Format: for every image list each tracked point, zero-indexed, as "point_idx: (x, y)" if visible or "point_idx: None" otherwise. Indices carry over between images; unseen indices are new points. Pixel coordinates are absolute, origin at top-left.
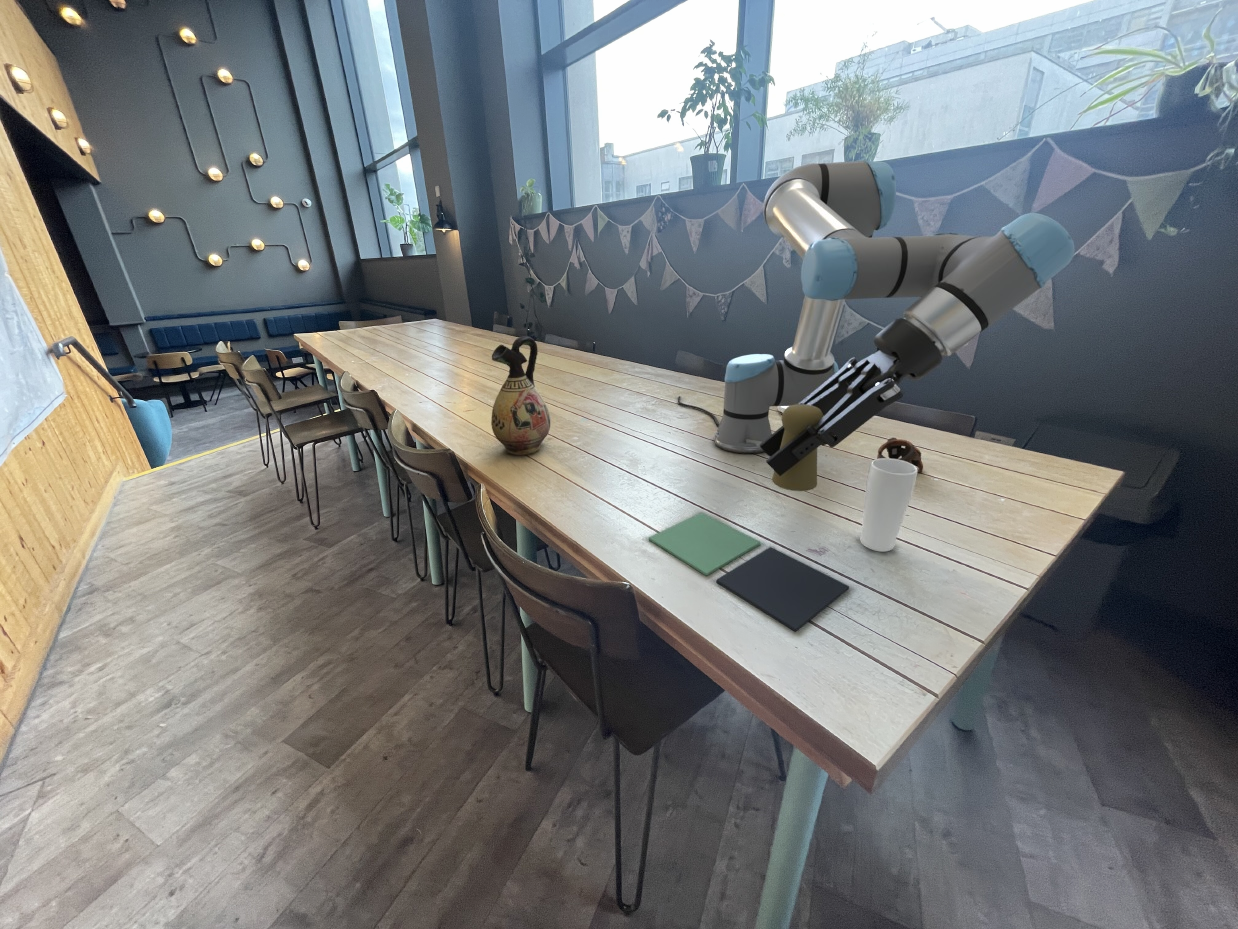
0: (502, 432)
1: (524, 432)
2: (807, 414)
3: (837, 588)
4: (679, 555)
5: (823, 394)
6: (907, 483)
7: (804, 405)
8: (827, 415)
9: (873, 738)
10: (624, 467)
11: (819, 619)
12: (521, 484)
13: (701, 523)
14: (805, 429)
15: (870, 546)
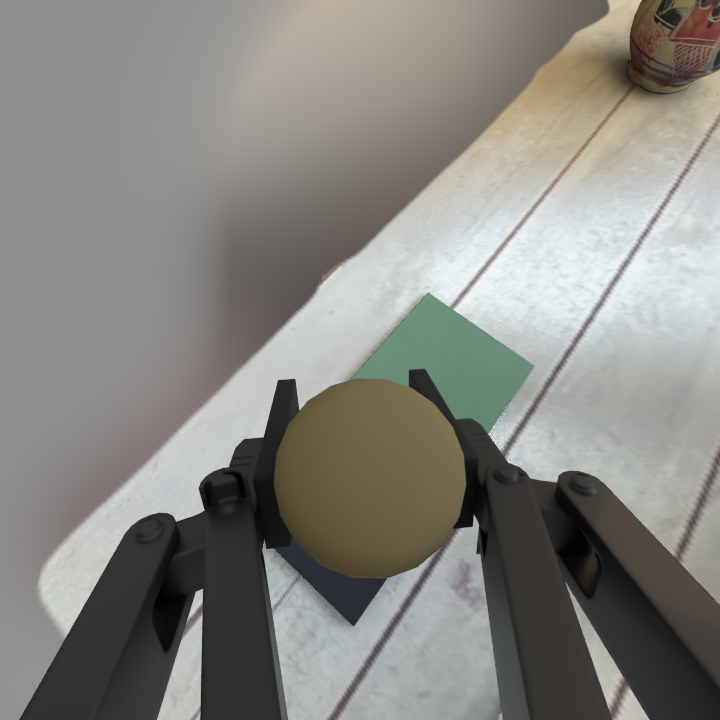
0: (639, 9)
1: (656, 34)
2: (283, 473)
3: (343, 600)
4: (389, 340)
5: (550, 613)
6: None
7: (389, 468)
8: (235, 580)
9: (56, 587)
10: (662, 224)
11: (267, 553)
12: (533, 107)
13: (494, 367)
14: (272, 475)
15: (500, 714)
